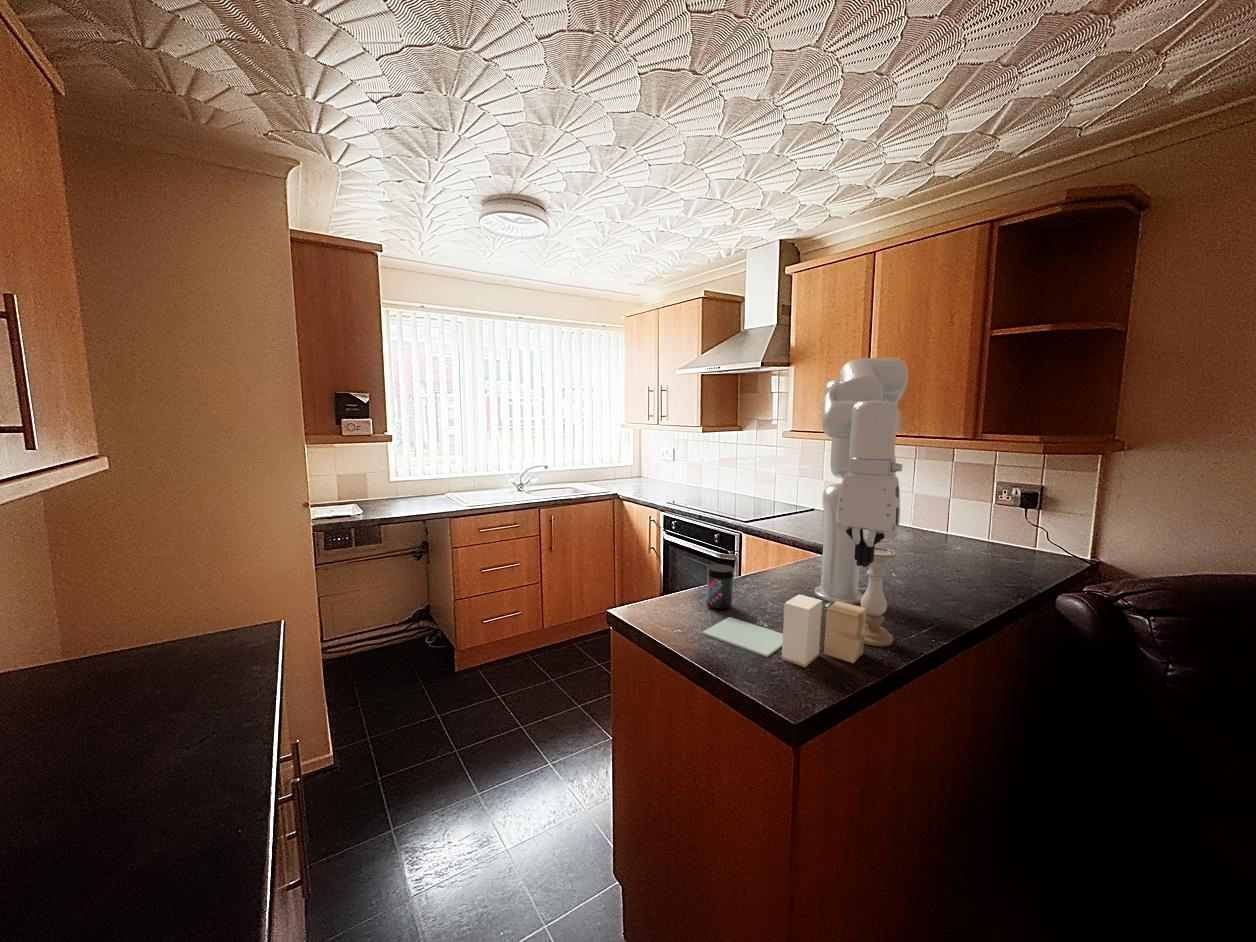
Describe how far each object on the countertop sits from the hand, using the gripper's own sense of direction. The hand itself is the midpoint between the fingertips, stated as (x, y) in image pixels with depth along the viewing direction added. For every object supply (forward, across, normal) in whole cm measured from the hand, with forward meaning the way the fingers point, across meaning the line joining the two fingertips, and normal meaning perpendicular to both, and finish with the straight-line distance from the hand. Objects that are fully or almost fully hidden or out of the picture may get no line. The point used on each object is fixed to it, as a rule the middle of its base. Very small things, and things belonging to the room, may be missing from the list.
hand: (863, 564), depth 95 cm
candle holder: (+22, +3, -20) cm, 30 cm away
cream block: (+22, +11, 0) cm, 25 cm away
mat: (+22, +24, -1) cm, 33 cm away
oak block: (+22, +5, -8) cm, 24 cm away
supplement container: (+22, +38, -12) cm, 46 cm away
